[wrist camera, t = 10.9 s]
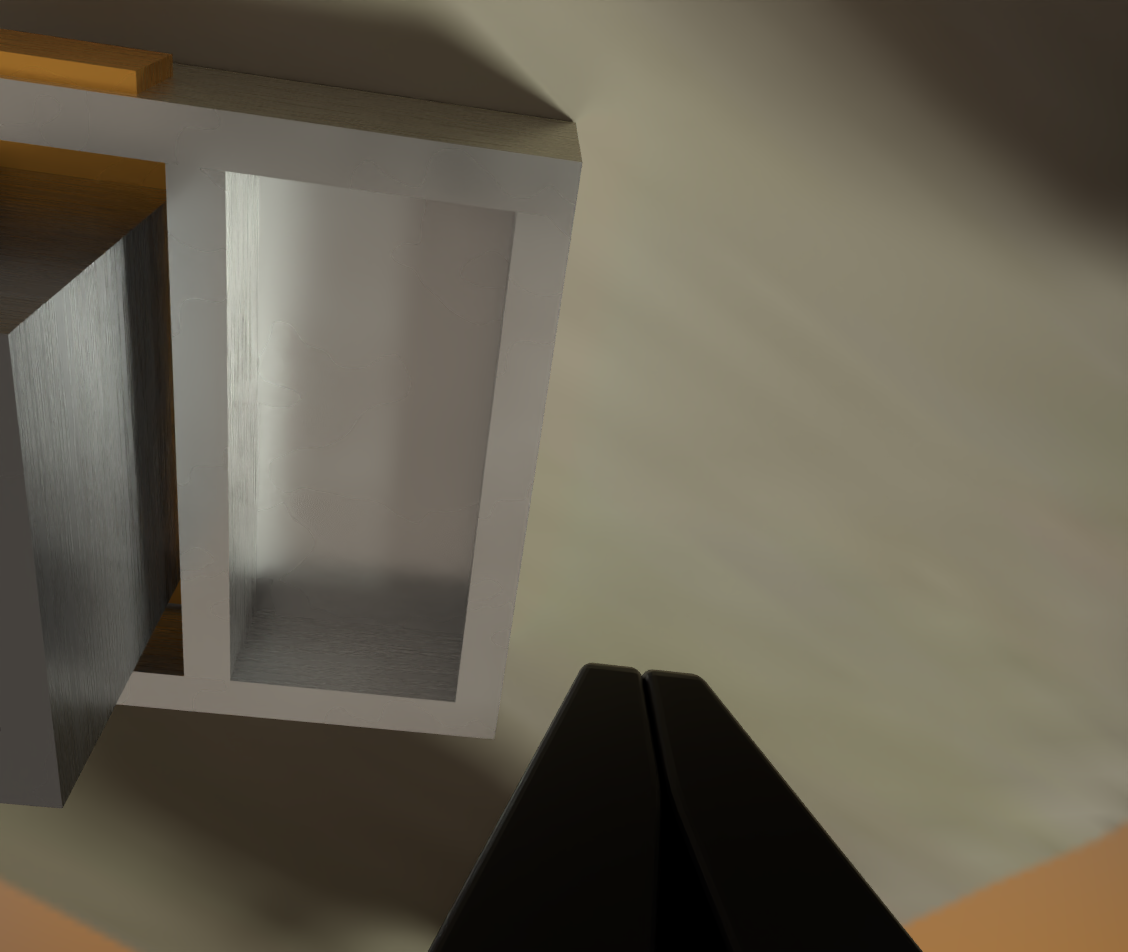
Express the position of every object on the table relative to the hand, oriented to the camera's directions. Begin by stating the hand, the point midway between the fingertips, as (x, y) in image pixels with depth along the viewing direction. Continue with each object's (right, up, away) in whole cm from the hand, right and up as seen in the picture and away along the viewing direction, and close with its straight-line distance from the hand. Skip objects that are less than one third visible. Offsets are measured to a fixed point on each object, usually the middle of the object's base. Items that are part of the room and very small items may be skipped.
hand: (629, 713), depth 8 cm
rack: (-9, +4, +11) cm, 14 cm away
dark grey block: (-9, +3, +10) cm, 14 cm away
